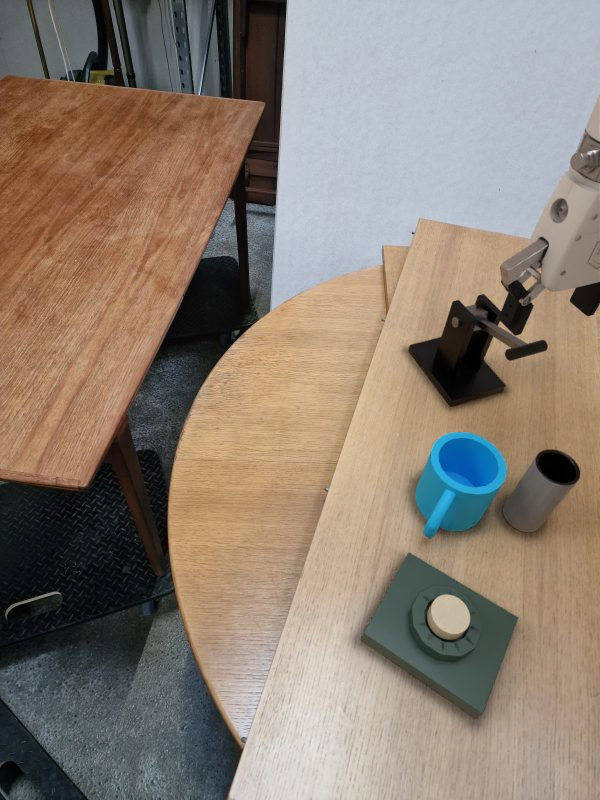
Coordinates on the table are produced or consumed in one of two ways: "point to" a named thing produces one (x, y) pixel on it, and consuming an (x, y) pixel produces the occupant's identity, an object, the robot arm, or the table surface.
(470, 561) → the table surface
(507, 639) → the button housing
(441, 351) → the lever bracket
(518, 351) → the press lever
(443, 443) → the mug
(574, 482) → the grey hollow cylinder
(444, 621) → the stop button
